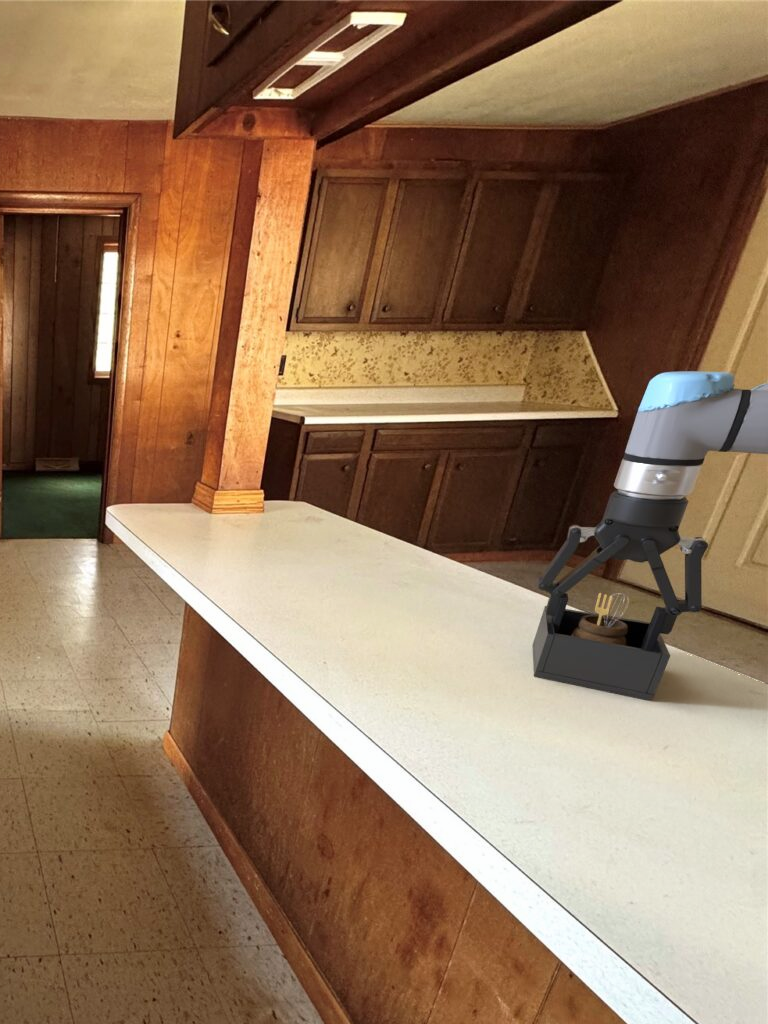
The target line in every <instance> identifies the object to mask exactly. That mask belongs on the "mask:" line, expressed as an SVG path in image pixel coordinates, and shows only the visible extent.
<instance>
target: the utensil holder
mask: <svg viewBox="0 0 768 1024" xmlns="http://www.w3.org/2000/svg"><path fill="white" fill-rule="evenodd" d="M616 595H621V598H620V601H619V604H618V607H617V609H616V610H615V613H614V615H613V617H615V615H616V614H617V612H618V609H619V606H620V605H621V603H622V605H621V607H620V610H619V612H618V614H617V615H616V617H618V616H619V619H620V618H623V615H624V614H625V613H626V612H627V609H628V606H629V605H630V604H629V603H630V599H629V597H628V596H627V595H626V594H624V593H621V592H615V593H612V594H611V595H610V596H609V597H608V594H604V595H603V593H602V592H599V593H598V595H597V599H596V603H595V608H594V613H596V614H599V616H597V615H587V616H583V617H582V618H581V619H580V621H579V627H577V628H576V629H575V630H574V631H573V633H572V635H571V636H573V637H579V638H585V639H590V640H596V641H602V642H607V643H613V644H618V645H624V646H625V645H626V638H625V636H624V635H626V634H627V631H628V626H627V624H625V623H624V622H622V621H619V619H618V620H617V619H616V618H615V619H613V618H609V617H610V616H611V613H612V611H613V608H614V607H615V604H616V602H617V600H618V598H619V596H616ZM602 596H603V599H602ZM614 596H616V599H615V597H614ZM625 597H626V598H625ZM601 599H602V603H601ZM614 599H615V600H614ZM625 599H627V601H626V604H625V607H624V609H623V611H622V613H621V610H622V608H623V605H624V603H625V601H623V602H622V600H625ZM613 602H614V603H613ZM612 603H613V605H612ZM600 604H601V606H600ZM620 613H621V614H620ZM619 614H620V615H619ZM603 615H604V616H603ZM605 615H607V617H605ZM608 616H609V617H608Z"/></svg>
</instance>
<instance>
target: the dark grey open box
mask: <svg viewBox="0 0 768 1024" xmlns="http://www.w3.org/2000/svg"><path fill="white" fill-rule="evenodd" d="M546 606H547V605H544V608H543V609H542V614H541V617H540V619H539V624H538V627H537V629H536V633H535V635H534V640H533V642H532V663H533V677H535V678H540V679H545V680H549V681H554V682H559V683H564V684H569V685H574V686H578V687H582V688H587V689H593V690H597V691H601V692H607V693H611V694H615V695H621V696H625V697H630V696H631V698H635V697H636V699H640V700H644V701H649V702H652V701H653V699H654V697H655V694H656V692H657V690H658V687H659V685H660V682H661V680H662V678H663V675H664V673H665V670H666V667H667V665H668V663H669V660H670V658H671V653H670V651H669V649H668V647H667V644H666V643H665V640H664V639H663V636H662V634H661V633H659V636H658V638H657V641H656V643H655V646H654V649H653V651H652V650H647V649H641V645H642V643H643V640H644V637H645V635H646V632H647V630H648V627H649V624H650V622H651V621H643V620H637V619H632V618H625V617H621V618H620V616H619V617H618V616H614V615H613V616H614V617H613V616H612V615H610V617H609V615H608V617H609V618H613V619H615V618H616V619H617V620H618V619H619V618H620V619H619V621H622V622H624V623H625V624H627V626H628V631H627V634H626V635H624V636H625V638H626V645H625V646H624V645H618V644H613V643H607V642H602V641H596V640H590V639H585V638H579V637H573V636H571V635H572V633H573V631H574V630H575V629H576V628H577V627H579V621H580V619H581V618H582V617H583V616H587V615H597V616H599V614H598V613H595V612H594V613H593V612H588V611H582V610H576V609H570V608H565V611H564V614H563V617H562V620H561V623H560V627H559V630H558V633H554V624H553V616H550V615H547V613H546ZM603 616H604V615H603ZM605 617H607V615H605Z"/></svg>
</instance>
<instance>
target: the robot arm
mask: <svg viewBox="0 0 768 1024" xmlns="http://www.w3.org/2000/svg"><path fill="white" fill-rule="evenodd" d="M735 380H736V379H735V375H734V374H733V373H731V372H726V371H701V370H700V371H697V370H696V371H695V370H691V371H686V370H685V371H682V370H681V371H667V372H661V373H659V374H657V375H655V376H653V378H651V379H650V380H649V382H648V384H647V388H646V390H645V392H644V395H643V397H642V398H641V399H642V400H641V402H640V403H639V404H640V405H639V407H638V409H637V413H636V416H635V419H634V422H633V425H632V429H631V431H630V435H629V438H628V440H627V444H626V446H625V447H626V448H625V451H624V454H623V458H622V459H621V462H620V466H619V469H618V471H617V474H616V478H615V480H614V483H613V487H614V488H615V489H617V490H615V491H613V492H612V493H610V495H609V499H608V501H607V504H606V508H605V511H604V512H603V513H604V514H603V517H602V518H601V521H600V522H599V523H598V524H597V525H596V526H595V527H593V526H580V525H579V524H571V525H570V526H569V527H568V531H567V536H566V540H565V541H564V542H563V544H562V546H561V547H560V549H559V550H558V551H557V553H556V554H555V555H554V557H553V558H552V559H551V562H550V563H549V564H548V565H547V567H546V568H545V569H544V571H543V573H542V574H541V576H540V577H539V578H538V580H537V588H538V589H539V590H540V591H545V592H547V593H548V594H549V598H548V599H547V604H546V605H545V606H546V613H547V615H550V616H553V624H554V633H558V630H559V627H560V623H561V620H562V617H563V614H564V611H565V609H567V605H568V603H569V594H568V593H567V592H569V591H570V590H571V589H572V588H573V587H574V586H576V585H577V584H578V583H579V582H581V581H582V580H583V579H584V578H586V577H587V576H588V575H589V574H591V573H592V572H593V571H594V570H596V569H597V568H598V567H599V566H601V565H602V564H604V563H605V562H607V561H608V560H609V559H610V558H611V559H612V560H615V561H617V560H618V561H631V562H635V563H642V564H644V562H647V564H648V565H649V568H650V570H651V573H652V576H653V578H654V580H655V584H656V586H657V588H658V591H659V593H660V596H661V598H662V600H663V604H664V605H665V606H664V607H662V606H655V610H654V611H653V614H652V617H651V619H650V621H649V622H650V624H649V627H648V630H647V632H646V635H645V637H644V640H643V643H642V645H641V649H647V650H652V651H653V649H654V646H655V643H656V641H657V638H658V636H659V633H660V634H661V635H662V634H663V635H669V634H671V632H672V630H673V628H674V625H675V623H676V620H677V618H678V616H680V615H681V614H682V613H687V612H689V613H690V612H691V613H699V612H701V610H702V608H703V607H702V559H703V556H704V555H705V553H706V551H707V550H708V548H709V543H708V542H707V541H706V539H705V538H704V537H701V536H696V537H689V536H688V537H687V536H683V535H680V532H679V529H680V526H681V523H682V520H683V518H684V515H685V513H686V509H687V507H688V504H689V500H688V498H687V497H685V496H688V495H690V494H693V491H694V488H695V485H696V483H697V481H698V477H699V475H700V471H701V469H702V466H703V464H704V461H705V459H706V458H705V457H706V456H707V455H708V453H709V452H720V453H728V452H729V453H730V452H731V453H744V454H757V455H758V454H759V455H768V382H765V383H763V384H760V385H758V386H756V387H754V388H752V389H742V388H735V384H734V382H735ZM590 537H594V538H595V539H596V541H597V542H598V544H599V546H598V547H596V548H595V549H594V550H593V551H592V552H591V553H590V554H589V555H588V556H587V557H586V558H584V559H583V560H582V561H580V563H578V564H577V565H576V566H575V567H574V568H573V569H571V570H570V571H568V572H567V573H566V574H565V575H564V576H563V577H561V578H560V579H559V580H558V581H557V582H556V583H555V582H554V581H555V580H556V579H557V577H558V576H559V574H560V573H561V572H562V570H563V568H564V567H565V566H566V564H567V563H568V561H569V560H570V559H571V557H572V556H573V554H574V553H575V552H576V550H577V549H578V547H579V545H580V543H585V542H587V540H588V538H590ZM677 545H678V546H680V547H679V548H680V551H681V553H682V554H684V599H683V600H678V597H677V596H676V593H675V591H674V588H673V586H672V582H671V580H670V577H669V575H668V572H667V570H666V567H665V565H664V562H663V560H662V556H661V555H662V554H664V553H666V552H667V551H669V550H670V549H672V548H674V547H676V546H677Z"/></svg>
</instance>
